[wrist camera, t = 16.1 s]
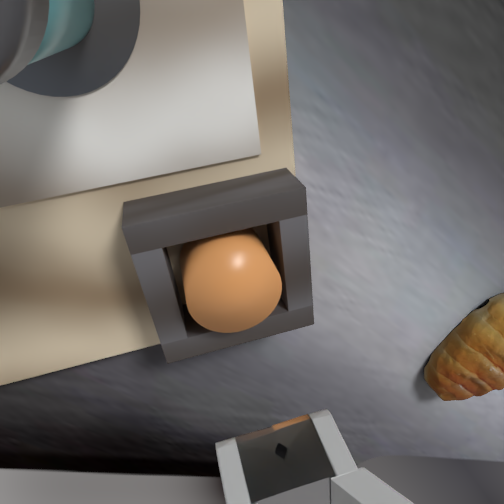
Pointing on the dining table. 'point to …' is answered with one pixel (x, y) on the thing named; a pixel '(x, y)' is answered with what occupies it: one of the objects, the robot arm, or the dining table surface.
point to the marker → (39, 30)
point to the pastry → (470, 355)
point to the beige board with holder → (144, 181)
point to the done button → (229, 281)
